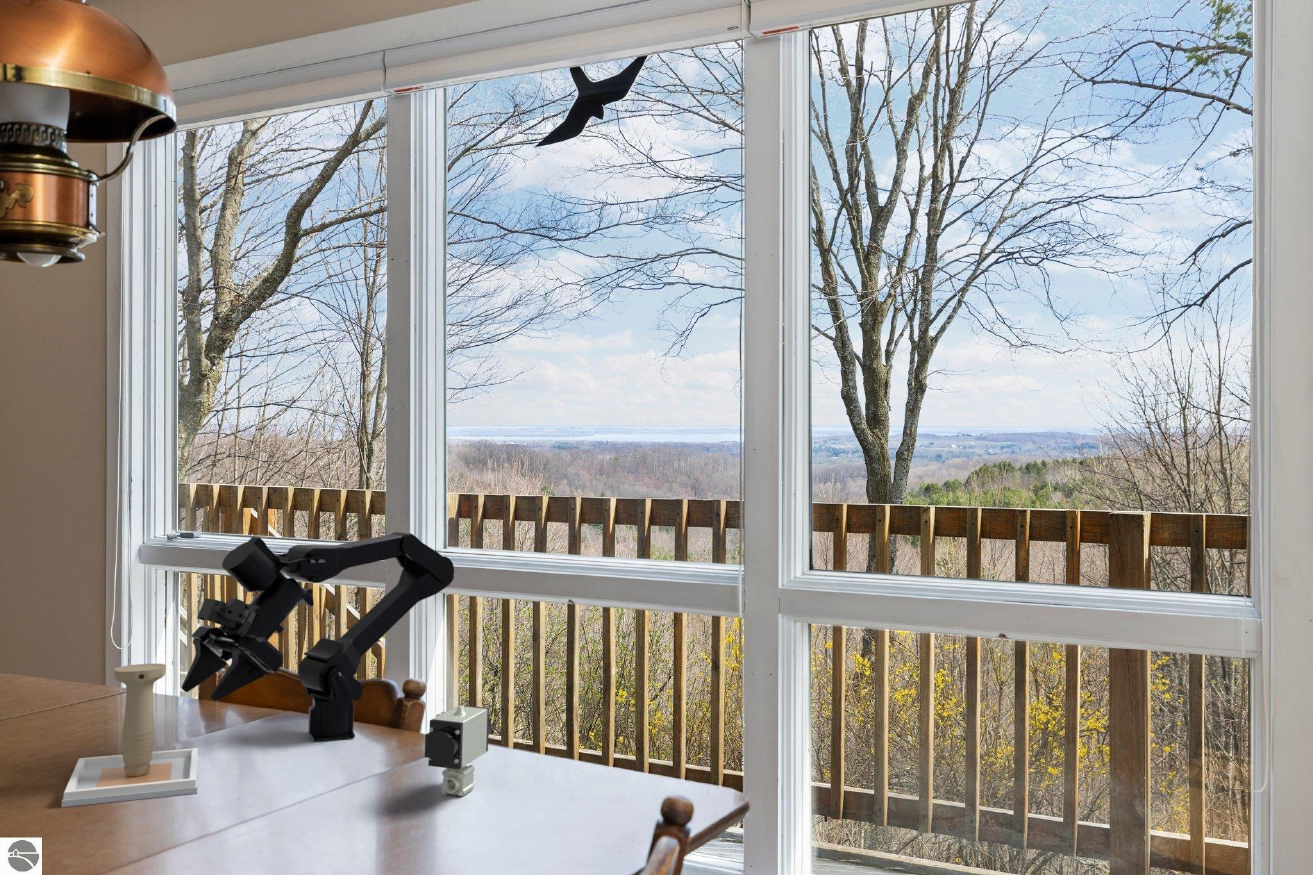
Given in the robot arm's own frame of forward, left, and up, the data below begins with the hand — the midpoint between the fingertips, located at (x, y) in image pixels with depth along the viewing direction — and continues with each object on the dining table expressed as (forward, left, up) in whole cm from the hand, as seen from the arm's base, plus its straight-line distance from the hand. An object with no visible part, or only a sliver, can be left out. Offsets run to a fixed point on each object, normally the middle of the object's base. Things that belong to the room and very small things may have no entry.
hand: (197, 694), depth 147 cm
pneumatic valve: (-33, +23, -11) cm, 42 cm away
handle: (+7, +4, -10) cm, 13 cm away
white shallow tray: (+8, +4, -11) cm, 14 cm away
